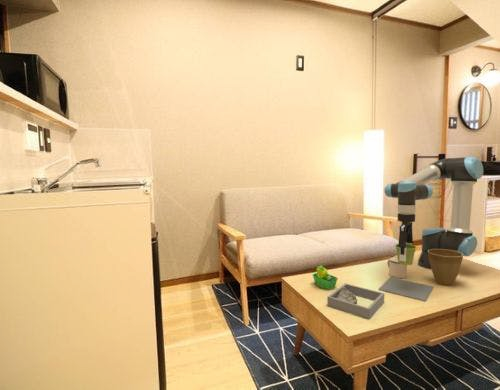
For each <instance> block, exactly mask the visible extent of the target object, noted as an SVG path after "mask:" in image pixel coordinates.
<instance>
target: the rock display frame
mask: <svg viewBox="0 0 500 390" xmlns="http://www.w3.org/2000/svg"><path fill="white" fill-rule="evenodd" d="M343 287H345V288H346V289H347V288H348V289H347V290H348V291H350V292H351V293H353V294H354V295H355V296H357V297H361V298H365V299H369V300H373V301H372V302H371V304H370V305H369V306H368V307H367V306H363V305H360V304H358V303H357V304H354V303H350V302H347V301H344V300H340V299H337V296H338V295H339V293H340V291H341V289H342V288H343ZM326 301H327V304H326V305H327V306H328V307H331V308H333V309H338V310H340V311H343V312H347V313H350V314H353V315H355V316H358V317H362V318H365V319H369V320H370V319H371V318H372V317H373V316H374V314H375V313H376V312H377V311H378V310H379V309H380V308H381V306H382V305H383V304H384V303H385V293H384V292H382V291H377V290H374V289H373V290H372V289H370V288H369V289H368V288H365V287H361V286H357V285H354V284H349V283H343V284H342V285H341V286H340V287H339V288H337V289H335V291H333V292H332V293H330V294H329V295H328V296H327V300H326Z"/></svg>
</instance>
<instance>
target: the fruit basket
mask: <svg viewBox="0 0 500 390" xmlns="http://www.w3.org/2000/svg"><path fill="white" fill-rule="evenodd" d="M312 277H313V281H314V284H315V285H317V286H319V287H321V288H322V289H325V290H327V291H328V290H332V289H334V288H336V284H337V281H338V277H336V276H334V275H332V274H330V273H329V271H328V269H326V268H325V267H324V266H323V265H319V266H317V267H316V272H315V273H312Z"/></svg>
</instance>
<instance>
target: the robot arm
mask: <svg viewBox="0 0 500 390" xmlns="http://www.w3.org/2000/svg"><path fill="white" fill-rule="evenodd" d="M483 175H484V166H483V163H482V161H481V160H480V159H479V158H478V157H471V156H465V157H452V158H451V157H449V158H448V157H447V158H443V159H442V158H441V159H439V160H437V161H434V162H432V163H429V164H428V165H426V166H425V167H424V169H421V170H419V171H418V172H416V173H414V174H412V175H410V176H408V177H405V178H404V179H401V180H400V181H398V182H396V183H388V184H386V185H385V187H384V189H383V191H384V195H385V196H386V197H388V198H392V199H395V198H396V199H397V206H396V208H397V212H398V213H397V221H398V222H400V223H401V225H400V226H398V227H399V233H398V234H399V235H398V236H399V237H398V243H397V244H398V247H400V257H399V261H405V262H406V244H410V245H413V244H414V239H413V237H414V236H413V235H414V234H413V223H415V222H416V201H420V200H422V201H424V200H427V199H430V198H431V197H432V196H433V193H434V192H433V191H434V190H433V188H432V186H431V185H429V184H428V183H429V182H431V181H437V180H441V179H450V183H452V185H453V190H452V203H451V216H450V218H451V219H450V227H448V228H447V229H446V228H445V227H426V228H424V229H422V230H421V231H422V233H421V252H420V255H419V256H418V260H417V265H419V266H420V267H422V268H426V269H430V270H432V269H431V266H430V262H429V256H428V250H430V249H446V250H453V251H457V252H460V253H462V254H463V257H470V256H471V255H472V254H473V253H474V252H475V251H476V249H477V247H478V238H477V237H476V236H475V235H474V233H473V231H472V230H471V229H470V226H471V218H472V217H471V215H472V214H471V213H472V204H473V202H472V201H473V191H474V186H475V184H477V183H478V180H479V179H481V178H482V177H483Z"/></svg>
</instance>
